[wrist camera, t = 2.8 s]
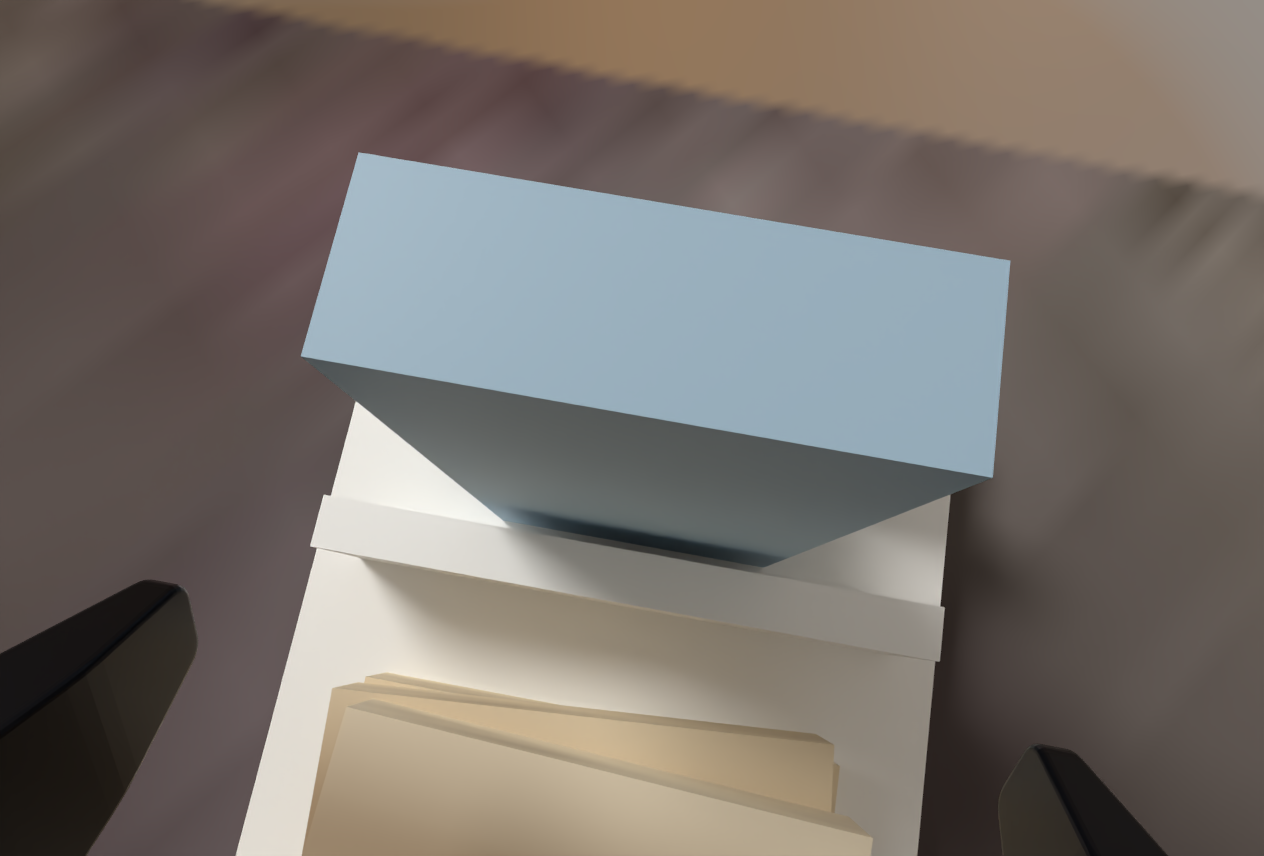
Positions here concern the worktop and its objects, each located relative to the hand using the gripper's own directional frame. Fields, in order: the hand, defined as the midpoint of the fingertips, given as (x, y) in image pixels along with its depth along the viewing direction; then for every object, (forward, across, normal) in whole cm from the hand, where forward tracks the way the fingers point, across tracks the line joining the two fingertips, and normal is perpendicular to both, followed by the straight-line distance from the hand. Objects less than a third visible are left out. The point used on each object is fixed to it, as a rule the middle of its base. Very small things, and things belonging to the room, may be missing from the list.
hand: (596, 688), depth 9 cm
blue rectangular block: (+9, 0, +4) cm, 10 cm away
